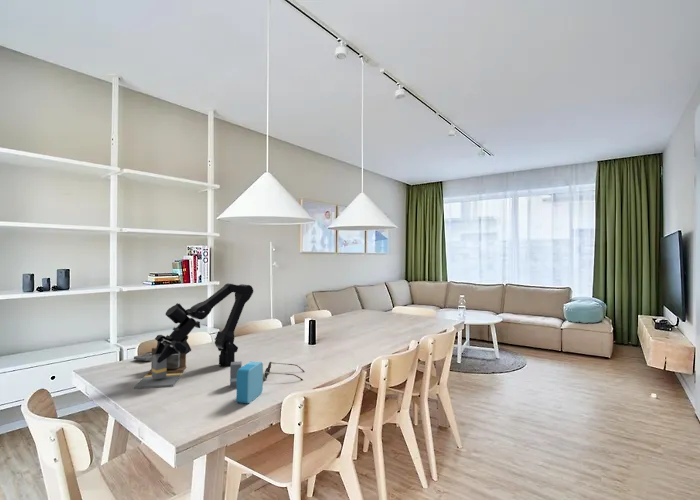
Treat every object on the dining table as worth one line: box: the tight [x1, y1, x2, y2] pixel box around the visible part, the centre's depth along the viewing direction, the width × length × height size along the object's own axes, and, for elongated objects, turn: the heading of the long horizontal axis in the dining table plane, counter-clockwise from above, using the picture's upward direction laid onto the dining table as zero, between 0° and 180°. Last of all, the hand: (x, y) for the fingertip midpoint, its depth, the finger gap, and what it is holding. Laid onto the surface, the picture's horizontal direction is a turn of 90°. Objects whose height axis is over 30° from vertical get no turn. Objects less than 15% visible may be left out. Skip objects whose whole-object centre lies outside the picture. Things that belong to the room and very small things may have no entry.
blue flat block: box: [235, 361, 264, 404], centre depth 135 cm, size 12×4×12 cm, turn 168°
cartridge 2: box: [229, 361, 243, 389], centre depth 147 cm, size 4×4×9 cm
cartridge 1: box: [151, 353, 167, 379], centre depth 151 cm, size 4×4×9 cm
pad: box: [133, 373, 182, 390], centre depth 151 cm, size 14×14×1 cm
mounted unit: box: [147, 347, 187, 375], centre depth 165 cm, size 14×7×10 cm, turn 103°
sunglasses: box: [264, 361, 306, 381], centre depth 160 cm, size 14×16×5 cm
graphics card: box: [133, 351, 152, 362], centre depth 185 cm, size 17×4×12 cm
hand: (155, 361), depth 150 cm, fingers closed on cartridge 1, 4 cm apart
